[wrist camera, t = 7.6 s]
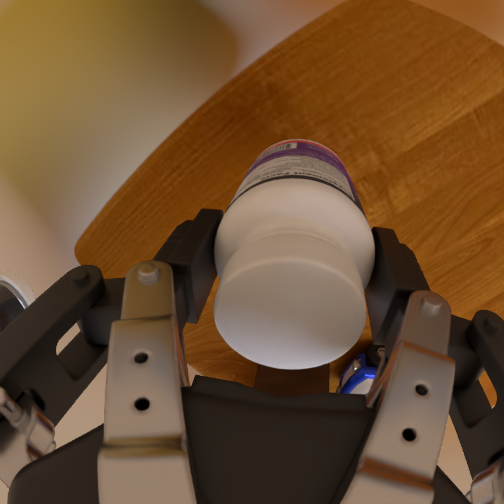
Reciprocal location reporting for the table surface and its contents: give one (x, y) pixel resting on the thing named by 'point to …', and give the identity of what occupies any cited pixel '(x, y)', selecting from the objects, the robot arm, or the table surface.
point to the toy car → (361, 371)
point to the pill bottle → (293, 259)
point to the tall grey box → (292, 381)
